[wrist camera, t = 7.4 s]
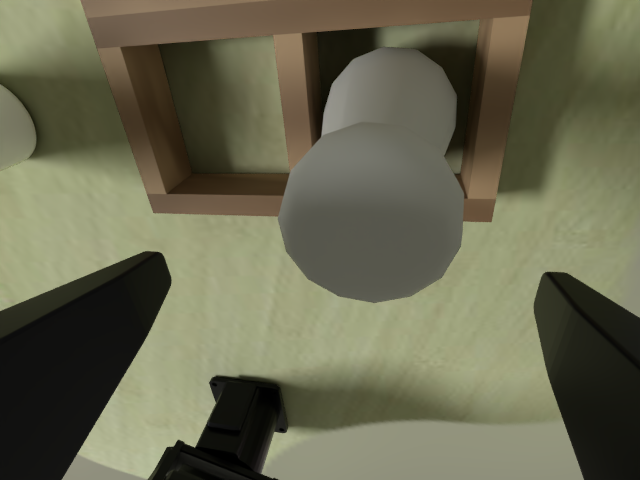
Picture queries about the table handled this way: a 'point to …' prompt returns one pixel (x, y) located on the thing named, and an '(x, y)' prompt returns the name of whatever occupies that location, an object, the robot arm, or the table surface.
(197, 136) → the table surface
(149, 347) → the table surface
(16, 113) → the drinking glass
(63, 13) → the table surface
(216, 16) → the socket block
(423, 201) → the salt shaker
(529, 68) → the table surface
